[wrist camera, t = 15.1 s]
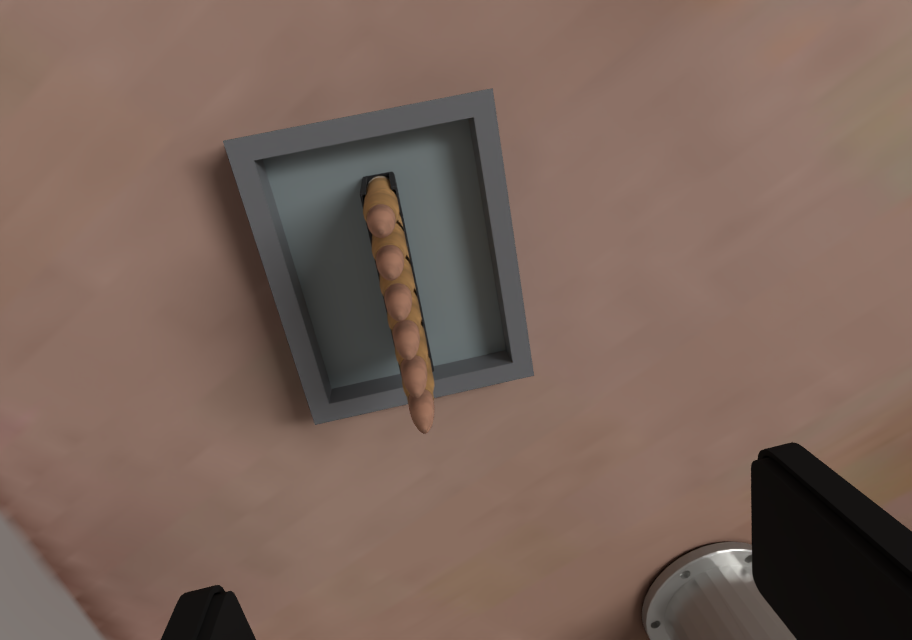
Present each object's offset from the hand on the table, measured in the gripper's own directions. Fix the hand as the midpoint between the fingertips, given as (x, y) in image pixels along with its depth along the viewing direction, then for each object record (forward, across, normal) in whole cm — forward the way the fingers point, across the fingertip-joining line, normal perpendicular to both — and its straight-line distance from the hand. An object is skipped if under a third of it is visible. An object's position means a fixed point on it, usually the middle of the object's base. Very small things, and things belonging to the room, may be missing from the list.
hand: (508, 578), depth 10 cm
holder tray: (+26, +2, 0) cm, 26 cm away
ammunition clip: (+25, +2, 0) cm, 25 cm away
